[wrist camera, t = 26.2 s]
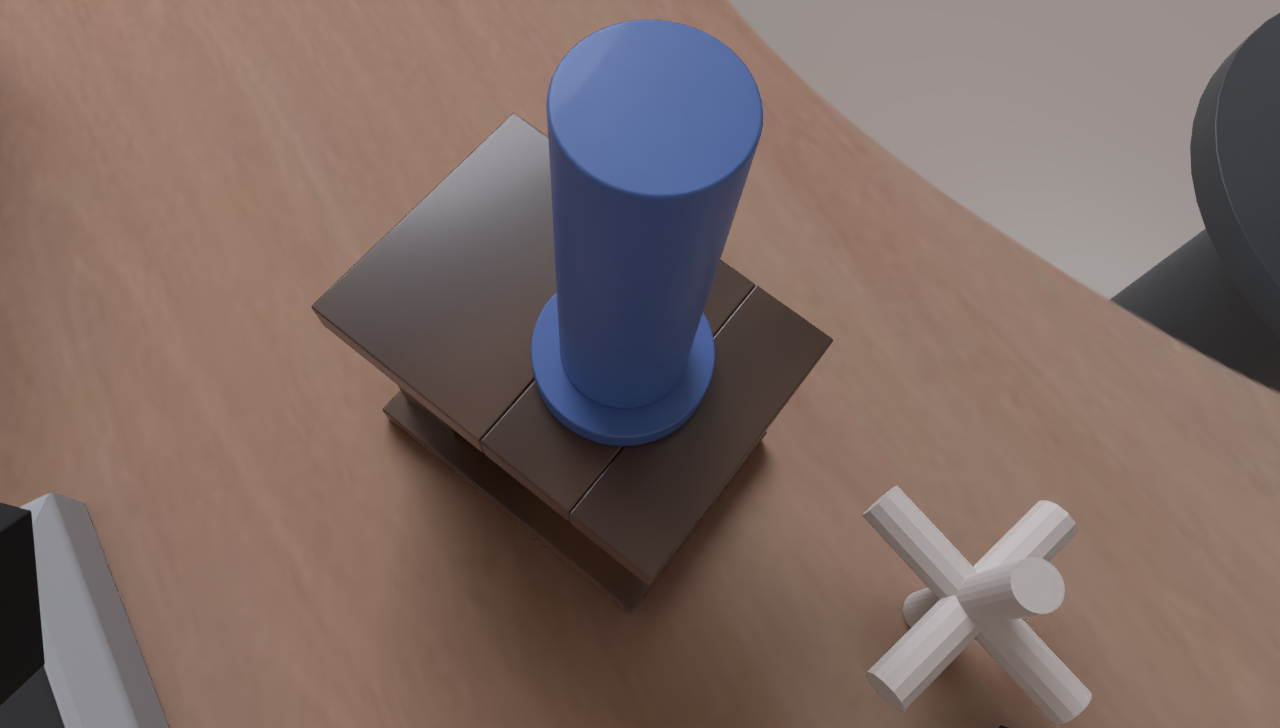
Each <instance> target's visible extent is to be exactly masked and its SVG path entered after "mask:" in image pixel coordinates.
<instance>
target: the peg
mask: <svg viewBox="0 0 1280 728" xmlns="http://www.w3.org/2000/svg"><path fill="white" fill-rule="evenodd" d="M547 122H548V140H549V159H550V178H551V196H552V215H553V234H554V252H555V271H556V289H557V292H556V293H555V294H554V295H553V296H552V297H551V299H550V300H549V301H548V302H547V304H546V305H545V306H544V308H543V310H542V311H541V313H540V315H539V317H538V320H537V322H536V324H535V327H534V331H533V335H532V342H531V361H532V368H533V375H534V380H535V383H536V386H537V390H538V392H539V394H540V396H541V398H542V400H543V402H544V403H545V405H546V406H547V408H548V409H549V411H550V412H551V413H552V414H553V415H554V416H555V418H556V419H557V420H559V421H560V422H561V423H562V424H563V425H564V426H565V427H567V428H568V429H570V430H571V431H573V432H574V433H576V434H578V435H580V436H582V437H584V438H586V439H589V440H592V441H594V442H597V443H602V444H607V445H614V446H634V445H640V444H646V443H649V442H652V441H655V440H658V439H660V438H662V437H665V436H667V435H669V434H670V433H672V432H673V431H675V430H677V429H678V428H679V427H680V426H682V425H683V424H684V423H685V422H686V421H687V420H688V419H689V418H690V417H691V416H692V415H693V414H694V413H695V411H696V410H697V408H698V407H699V405H700V404H701V402H702V400H703V398H704V396H705V394H706V392H707V389H708V387H709V384H710V381H711V378H712V375H713V371H714V365H715V344H714V338H713V334H712V330H711V327H710V325H709V322H708V320H707V318H706V316H705V314H704V312H703V310H704V307H705V304H706V301H707V298H708V295H709V292H710V289H711V286H712V283H713V280H714V277H715V274H716V271H717V267H718V264H719V261H720V258H721V255H722V252H723V249H724V246H725V243H726V240H727V237H728V234H729V231H730V228H731V225H732V222H733V218H734V215H735V212H736V209H737V206H738V203H739V200H740V197H741V194H742V191H743V188H744V185H745V182H746V179H747V176H748V173H749V169H750V166H751V163H752V160H753V157H754V154H755V151H756V148H757V145H758V142H759V139H760V136H761V131H762V125H763V108H762V100H761V97H760V93H759V90H758V87H757V85H756V82H755V80H754V78H753V76H752V74H751V73H750V71H749V70H748V68H747V66H746V65H745V64H744V63H743V62H742V60H741V59H740V58H739V57H738V56H737V55H736V54H735V53H734V52H733V51H732V50H731V49H730V48H729V47H727V46H726V45H725V44H723V43H722V42H721V41H719V40H718V39H716V38H714V37H712V36H711V35H709V34H707V33H705V32H703V31H701V30H698V29H696V28H693V27H690V26H687V25H684V24H680V23H675V22H670V21H662V20H636V21H628V22H623V23H618V24H615V25H612V26H609V27H606V28H603V29H601V30H599V31H597V32H595V33H593V34H591V35H589V36H588V37H586V38H585V39H583V40H582V41H580V42H579V43H578V44H577V45H576V46H574V47H573V48H572V49H571V50H570V51H569V52H568V54H567V55H566V56H565V57H564V58H563V60H562V61H561V63H560V64H559V66H558V67H557V69H556V71H555V73H554V75H553V77H552V79H551V83H550V86H549V89H548V96H547Z"/></svg>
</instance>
